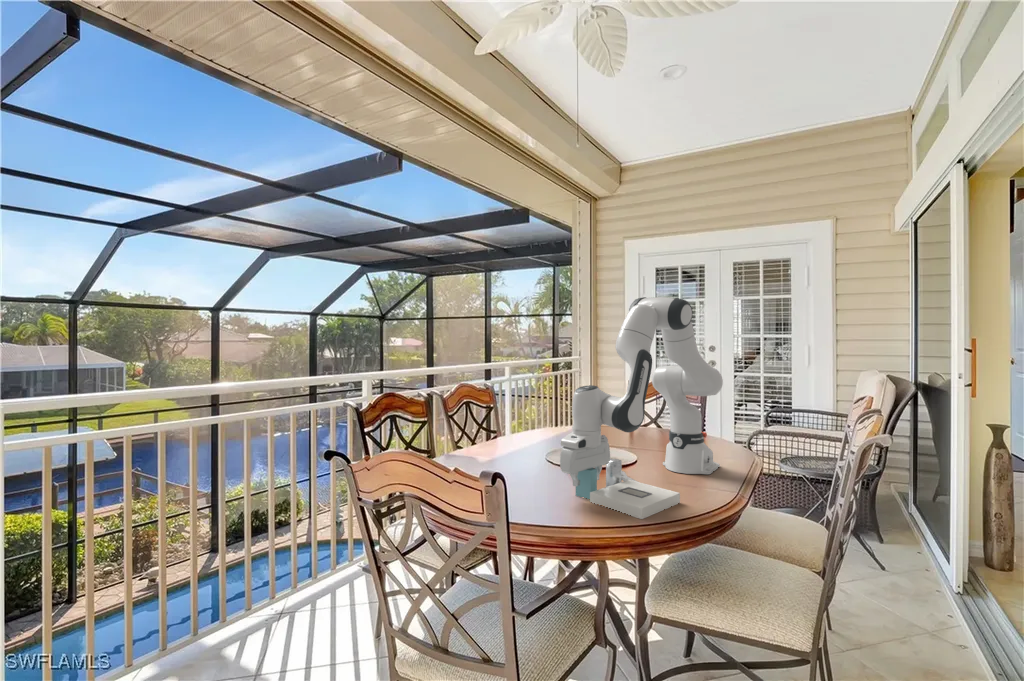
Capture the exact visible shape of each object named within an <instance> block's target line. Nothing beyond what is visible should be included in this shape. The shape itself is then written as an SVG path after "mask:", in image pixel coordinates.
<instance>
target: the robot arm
mask: <svg viewBox="0 0 1024 681" xmlns="http://www.w3.org/2000/svg"><path fill="white" fill-rule="evenodd" d="M692 320H693V307H692V305H691V304H690V303H689V301H688V300H686V299H684V298H679V297H677V298H674V297H668V296H657V297H656V296H655V297H643V296H642V297H639V298H636V299H634V300H633V302H632V303H630V306H629V308H628V313H627V314H626V316H625V317H624V320H623V321H622V324H621V326H620V329H619V331H618V334H617V337H616V340H615V351H616V353H617V355H618V356H619V358H620V359H621V360H623V361H624V362H625V363H627V364H628V365H629V368H630V373H629V374H630V375H629V379H628V383H627V388H626V392H625V394H624V396H622V397H621V396H620V397H619V396H615V395H612V394H608V393H607V392H605V391H603V390H602V389H600V388H599V387H598V385H592V384H590V385H582V386H579V387H577V388H576V389H575V391H574V392H573V397H572V403H571V404H572V408H571V409H572V410H571V412H572V413H571V414H572V418H573V421H572V422H573V423H572V427H571V428H572V429H571V430H572V431H571V432H569V433H568V434H567V435H565V436H564V437H562V439H560V446H561V447H562V448H561V450H560V456H559V458H560V459H559V466H560V467H559V468H560V469H559V470H560V471H561V472H562V473H564V474H567V475H569V476H570V478H571V480H572V486H573V487H576V486H580V480H578V478H577V475H578V472H580V471H583V470H587V469H591V468H594V469H597V481H599V480H600V475H601V471H602V470H603V466H606V464H609V462H610V459H611V450H610V444H609V439H608V437H607V436H606V435H605V434H602V427H601V426H603V425H605V426H607V427H610V428H615V429H617V430H619V431H622V432H624V433H633V432H635V431H637V430H638V429H639V428H640V427H641V426H642V424H643V422H644V420H645V412H646V411H645V408H646V407H645V406H646V405H645V404H646V398H647V393H648V389H649V385H650V384H649V383H650V378H651V385H652V387H653V388H654V389H655V391H657V392H658V393H659V394H660V395H661V396H662V398H663V399H664V401H665V402H666V404H667V407H668V412H669V420H670V421H669V422H670V423H669V424H670V425H669V426H670V427H669V428H670V430H668V431H669V432H668V441H669V442H668V443H667V444H666V449H665V461H662V465H663V466H665V469H667V470H668V471H671V472H675V473H680V474H687V475H711V474H712V473H714V472H715V471H716V470H717V469H719V468H720V466H721V465H720V463H718V462H715V461H714V453H713V450H712V449H711V448H710V447H709V446H708V445H707V444H706V443H705V438H707V436H708V433H707V431H705V432H704V431H702V418H703V416H702V415H703V414H702V413H701V411H700V409H699V408H698V407H697V406H695V405H693V404H691V403H690V402H689V401H688V399H687V396H694V397H695V396H696V397H710V396H716V395H718V393H719V392H720V391H721V390H722V388H723V384H724V382H723V380H724V379H723V376H722V374H721V373H720V371H719V370H718V369H717V368H715V367H713V366H712V365H710V364H709V363H708V362H707V361H705V359H704V358H703V357H702V355H701V354H700V352H699V348H698V346H697V343H696V337H695V330H694V326H693V322H692ZM656 330H661V337H662V339H661V340H662V342H663V350H664V353H665V356H666V358H667V359H668V360H670V362H673V363H674V364H675V365H664V366H658V367H656V368H655V369H654V370H653V372H652V369H653V357H652V354H651V347H652V343H653V341H654V337H655V334H656ZM651 374H652V375H651ZM718 467H719V468H718ZM713 471H714V472H713Z"/></svg>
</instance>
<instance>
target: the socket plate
mask: <svg viewBox="0 0 1024 681" xmlns="http://www.w3.org/2000/svg"><path fill="white" fill-rule="evenodd" d="M636 481H637V480H636ZM636 481H633V480H627V481H622V482H620V483H617V484H614V485H611V486H608V487H606V486H605V487H602V488H600V489H597V490H596V491H593V492H590V500H589V503H591V502H592V503H591V504H594V503H595V504H594V505H597V504H599V505H598V506H600V505H603V506H605V507H604V508H606V507H608V508H607V509H609V508H611V509H610V510H612V509H614V510H613V511H615V510H617V511H616V512H618V511H620V512H619V513H621V512H622V513H621V514H624V513H626V514H625V515H627V514H628V516H630V515H631V516H630V517H633V518H637V519H639V520H643V519H646V518H648V517H651V516H653V515H655V514H657V513H659V512H662V511H664V509H665V510H667V509H669V508H671V506H672V507H674V506H676V505H678V503H679V504H680V503H681V493H680V492H678V491H673V490H670V489H666V488H663V487H659V486H655V485H651V484H647V483H645V482H644V483H643V482H639V481H638V482H636ZM603 506H602V507H603Z"/></svg>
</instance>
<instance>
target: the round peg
mask: <svg viewBox="0 0 1024 681" xmlns="http://www.w3.org/2000/svg"><path fill="white" fill-rule="evenodd" d="M622 465H623V464H622V460H621V459H618V458H610V462H609V464H606V465H605V487H608V486H611V485H614V484H617V483H620V482H623V481H622V471H623V470H622V469H623V468H622V467H623V466H622Z"/></svg>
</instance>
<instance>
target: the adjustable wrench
mask: <svg viewBox="0 0 1024 681" xmlns="http://www.w3.org/2000/svg"><path fill="white" fill-rule="evenodd" d="M622 480H623V481H622V482H624V481H627V480H633V481H636V482H639V481H638V480H635V479H634V478H631V477H630V476H628V475H627V473H626V472H625V471H624V470H622Z"/></svg>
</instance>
